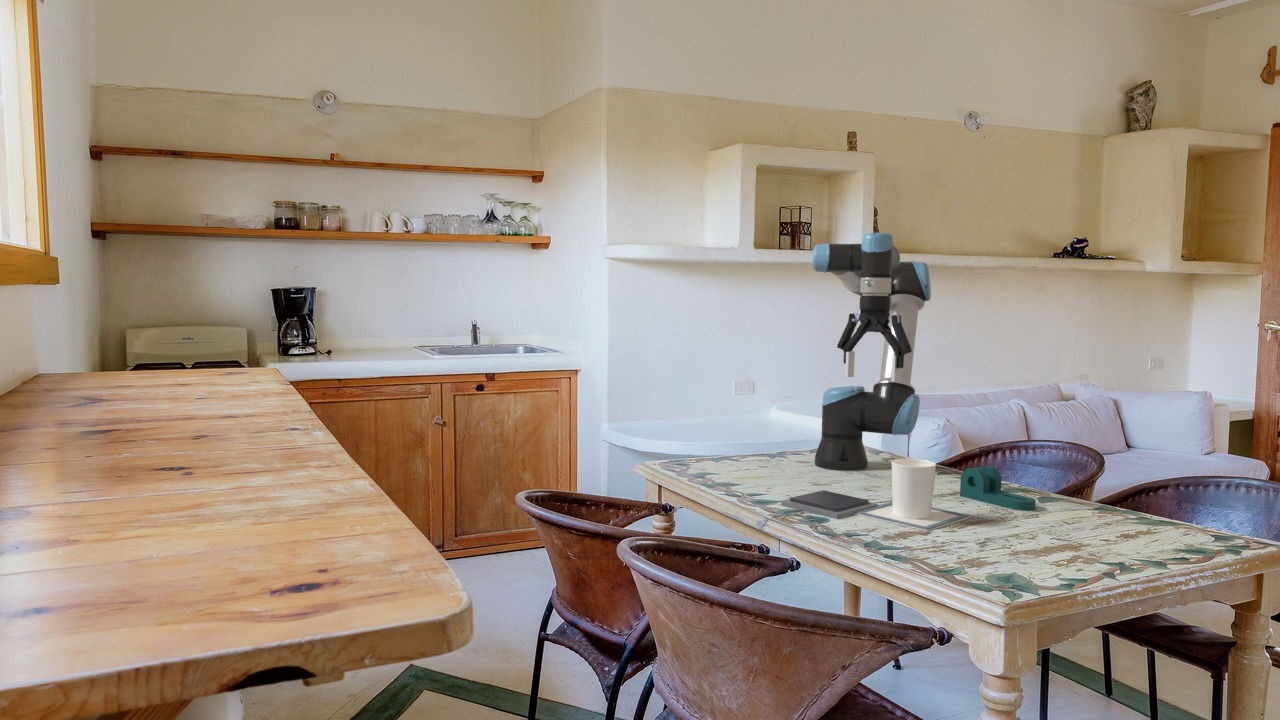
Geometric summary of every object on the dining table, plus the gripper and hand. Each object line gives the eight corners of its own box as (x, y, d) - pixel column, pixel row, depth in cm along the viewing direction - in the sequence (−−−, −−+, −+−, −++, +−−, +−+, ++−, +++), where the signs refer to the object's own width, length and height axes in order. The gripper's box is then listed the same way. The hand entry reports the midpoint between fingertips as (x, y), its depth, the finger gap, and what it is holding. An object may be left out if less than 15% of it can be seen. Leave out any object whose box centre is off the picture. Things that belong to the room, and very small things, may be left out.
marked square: (897, 501, 215) (897, 499, 215) (971, 517, 201) (971, 515, 201) (852, 513, 203) (852, 511, 203) (927, 531, 189) (927, 529, 189)
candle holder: (928, 510, 206) (930, 459, 205) (938, 521, 197) (941, 467, 196) (885, 508, 207) (887, 457, 206) (893, 519, 197) (895, 466, 197)
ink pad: (821, 495, 220) (822, 488, 220) (877, 507, 209) (877, 500, 208) (780, 505, 210) (780, 497, 210) (836, 518, 198) (837, 510, 198)
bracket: (959, 496, 223) (961, 466, 222) (977, 494, 226) (979, 463, 225) (1023, 512, 207) (1024, 479, 207) (1041, 509, 211) (1042, 477, 210)
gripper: (825, 294, 230) (822, 375, 231) (911, 295, 211) (908, 384, 213) (842, 294, 235) (839, 374, 236) (928, 295, 216) (924, 382, 218)
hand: (872, 379), depth 225 cm, fingers open, 13 cm apart
